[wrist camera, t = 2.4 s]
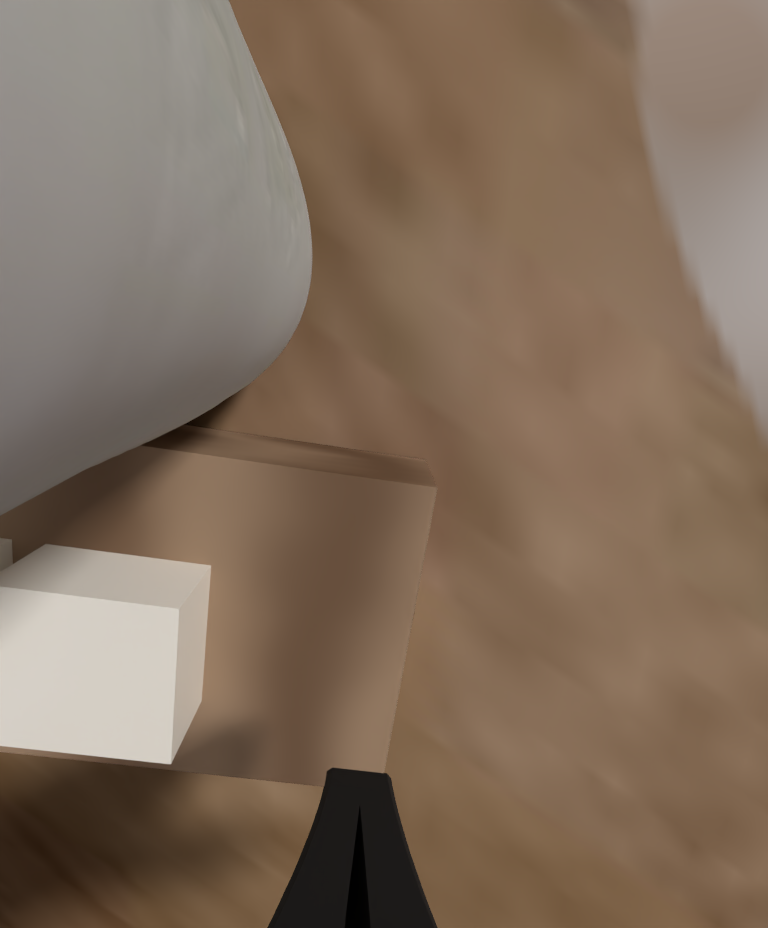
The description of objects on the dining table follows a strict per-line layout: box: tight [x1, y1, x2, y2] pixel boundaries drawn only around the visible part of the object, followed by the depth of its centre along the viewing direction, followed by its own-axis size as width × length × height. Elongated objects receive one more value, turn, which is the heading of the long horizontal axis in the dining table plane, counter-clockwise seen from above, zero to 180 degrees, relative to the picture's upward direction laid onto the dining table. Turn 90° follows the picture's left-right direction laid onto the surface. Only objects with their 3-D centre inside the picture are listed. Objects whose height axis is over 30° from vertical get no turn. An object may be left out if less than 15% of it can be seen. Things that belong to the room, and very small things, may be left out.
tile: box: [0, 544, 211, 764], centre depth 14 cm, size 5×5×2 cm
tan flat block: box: [0, 425, 437, 787], centre depth 17 cm, size 20×12×4 cm, turn 81°
